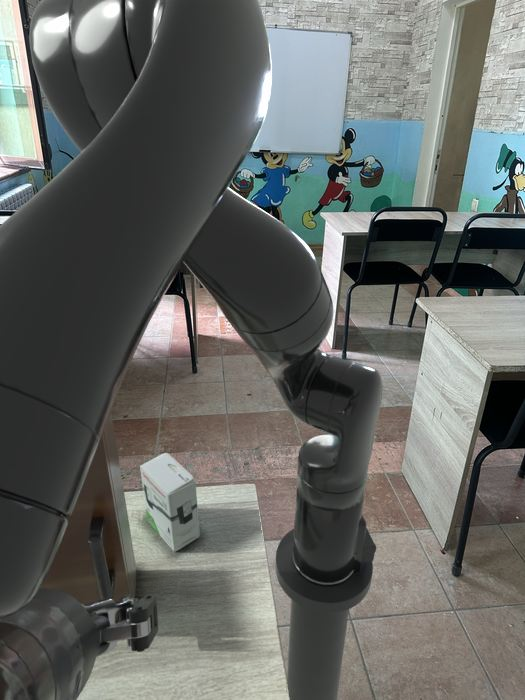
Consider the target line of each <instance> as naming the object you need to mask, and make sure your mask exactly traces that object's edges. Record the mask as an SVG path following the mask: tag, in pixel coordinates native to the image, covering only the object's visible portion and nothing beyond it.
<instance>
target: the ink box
mask: <svg viewBox="0 0 525 700" xmlns="http://www.w3.org/2000/svg"><path fill="white" fill-rule="evenodd" d="M139 468H140V476H141V484H142V490H143V491H142V492H143V500H144V507H145V514H146V515H145V516H146V521H147V523H148V524H149V525H150V526H151V527H152V529H153V530H154V531H155V532H156V533H157V534H158V535H159V536H160V537H161V539H162V540H163V541H164V542H165V543H166V544H167V545H168V547H169V548H170V549H171V550H172V551H173V552H174V553H176V552H178V551H179V550H181V549H182V548H184V547H187V545H189V544H190V543H192V542H194V541H195V540H197V539H198V538H200V524H199V523H200V522H199V510H198V495H197V482H196V479H195V478H194V475H192V474H191V473H190V472H189V471H188V470H187V469H186V468H184V467H183V466H182V465H181V464H180V463H179V462H178V461H177V460H176V458H174V457H173V456H171V455H170V454H169V453H168V452H164V453H161V454H160V455H158V456H156V457H154V458H152V459H150V460H149V461H146V462H144V463H141V464H140V465H139Z"/></svg>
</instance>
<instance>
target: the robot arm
mask: <svg viewBox="0 0 525 700" xmlns="http://www.w3.org/2000/svg"><path fill="white" fill-rule="evenodd" d="M29 24H30V25H29V35H28V41H29V48H30V56H31V62H32V66H33V69H34V72H35V75H36V79H37V82H38V84H39V87H40V90H41V91H42V94H43V96H44V98H45V101H46V102H47V104H48V106H49V108H50V110H51V112H52V113H53V115H54V117H55V118H56V120H57V121H58V123H59V124H60V126H61V128H62V129H63V131H64V133H65V134H66V135H67V137H68V138H69V139H70V141H71V142H72V144H73V145H74V146H75V147H76V149H77V150H78V151H79V152H80V153H79V154H78V155H77V156H75V158H73V159H72V160H71V161H70V162H69V163H67V165H66V166H65V167H63V169H62V170H61V171H59V172H58V174H56V175H55V177H54V178H52V179H51V180H50V181H49V182H47V184H45V186H43V187H42V188H41V189H40V190H38V191H37V192H36V193H35V194H34V195H32V196H31V197H30V199H28V200H27V201H26V202H25V203H24V204H23V205H21V207H19V208H18V209H16V211H15V212H14V213H12V215H10V216H9V217H8V218H7V219H6V220H5V221H3V223H1V224H0V700H78V698H79V696H80V695H81V693H82V692H83V690H84V689H85V686H86V685H87V684H88V681H89V679H90V677H91V674H92V671H93V669H94V667H95V663H96V659H97V658H98V657H100V656H103V655H105V654H107V653H109V652H112V651H114V650H115V648H117V643H118V642H121V641H126V644H127V648H131V651H132V652H137V653H140V652H144V651H145V650H146V649H149V648H150V646H151V645H152V643H153V641H154V639H155V638H156V635H157V633H158V631H159V621H158V620H159V619H158V600H157V595H152V594H146V595H144V597H141V598H137V597H135V599H134V598H132V597H131V594H127V595H123V596H122V597H121V598H120V599H119V600H118V601H117V602H115V601H114V600H113V599H107V600H97V601H94V602H91V603H88V604H84V605H81V603H80V602H79V601H77V600H76V599H75V598H74V597H72V596H71V595H69V594H67V593H65V592H62V591H59V590H55V589H49V588H41V586H42V584H43V582H44V580H45V578H46V576H47V574H48V572H49V570H50V568H51V566H52V563H53V561H54V558H55V556H56V553H57V551H58V549H59V546H60V543H61V541H62V538H63V535H64V533H65V530H66V528H67V525H68V521H67V519H66V518H68V517H70V516H71V515H72V512H73V509H74V507H75V504H76V501H77V499H78V496H79V494H80V491H81V488H82V486H83V483H84V481H85V478H86V475H87V473H88V470H89V467H90V465H91V462H92V460H93V457H94V454H95V452H96V449H97V447H98V443H99V441H100V438H101V435H102V433H103V430H104V428H105V425H106V422H107V420H108V417H109V414H110V412H111V413H112V409H113V406H114V403H115V401H116V399H117V398H116V397H117V396H118V393H119V391H120V389H121V386H122V384H123V381H124V379H125V377H126V375H127V372H128V369H129V367H130V365H131V363H132V361H133V358H134V356H135V354H136V351H137V349H138V347H139V345H140V343H141V341H142V339H143V336H144V335H145V332H146V330H147V328H148V326H149V324H150V322H151V320H152V318H153V316H154V315H155V312H156V311H157V309H158V307H159V305H160V304H161V301H162V299H163V298H164V296H165V294H166V293H167V291H168V289H169V288H170V286H171V284H172V282H173V281H174V279H175V278H176V276H177V274H178V272H179V271H180V269H181V267H182V265H183V264H184V265H185V266H186V267H187V269H188V270H189V271H190V272H191V273H192V274H193V276H194V277H195V278H196V280H197V281H198V282H199V283H200V284H201V286H202V287H203V288H204V289H205V291H206V292H207V293H208V294H209V296H210V297H211V298H212V300H213V301H214V302H215V304H216V305H217V306H218V308H219V310H220V311H221V313H222V314H223V316H224V317H225V319H226V320H227V321H228V323H229V324H230V325H231V327H232V328H233V330H234V331H235V332H236V333H237V334H238V335H239V337H240V338H241V340H242V342H244V343H245V344H246V346H248V348H249V349H250V350H251V351H252V352H253V354H254V355H255V356H256V358H257V359H258V361H259V363H260V364H261V365H262V367H263V368H264V369H265V370H266V372H267V373H268V374H269V376H270V377H271V379H272V381H273V382H274V384H275V386H276V388H277V390H278V392H279V394H280V397H281V398H282V401H283V403H284V404H285V406H286V408H287V410H288V412H289V413H290V414H291V415H292V417H294V419H296V420H298V421H299V422H300V423H302V424H304V425H306V426H309V427H312V428H315V429H317V430H319V431H322V432H325V433H321V434H316V435H314V436H312V437H310V438H308V439H307V440H305V441H304V442H303V444H301V446H300V448H299V451H298V455H297V471H296V491H295V493H296V494H295V510H294V511H295V512H294V520H293V522H294V523H293V529H294V528H295V529H294V544H293V545H294V546H293V556H292V559H293V564H294V567H295V569H296V570H297V572H298V573H299V574H300V575H301V576H302V577H303V578H304V579H305V580H307V581H309V582H311V583H313V584H315V585H319V586H326V587H330V586H337V585H340V584H342V583H344V582H346V581H347V580H348V579H349V578H350V577H351V576H352V575H353V573H355V572H360V567H361V563H364V562H370V561H372V562H374V560H375V553H376V552H377V544H376V543H375V542H374V540H373V537H372V535H371V534H370V532H369V530H368V528H367V521H366V519H365V517H364V516H363V508H364V501H365V492H366V486H367V478H368V473H369V472H368V471H369V466H370V461H371V456H372V451H373V448H374V440H375V435H376V429H377V424H378V420H379V414H380V409H381V407H382V406H381V404H382V399H383V392H384V391H383V390H384V386H383V382H384V381H383V378H382V375H381V373H380V372H379V370H377V369H376V368H374V367H371V366H368V365H365V364H362V363H358V362H355V361H351V360H348V359H345V358H341V357H338V356H334V355H331V354H328V353H326V352H323V351H322V350H320V349H319V348H320V347H321V346H322V344H323V343H324V341H325V339H326V338H327V336H328V334H329V332H330V330H331V326H332V324H333V319H334V302H333V298H332V295H331V292H330V289H329V287H328V284H327V282H326V279H325V277H324V274H323V271H322V269H321V266H320V264H319V262H318V260H317V258H316V256H315V254H314V252H313V251H312V249H311V248H310V246H309V245H308V244H307V243H306V242H305V241H304V240H303V238H302V237H300V236H299V235H298V234H297V233H296V232H295V231H293V230H292V229H291V228H290V227H288V226H287V225H286V224H284V223H283V222H281V221H280V220H278V219H277V218H276V217H275V216H273V215H271V214H270V213H268V212H266V211H265V210H263V209H262V208H260V207H259V206H257V205H256V204H254V203H252V202H251V201H249V200H248V199H246V198H244V197H243V196H241V195H240V194H239V193H237V192H236V191H235V190H233V189H231V188H230V187H229V186H230V185H231V182H232V181H233V180H234V178H235V176H236V175H237V173H238V172H239V170H240V168H241V166H243V165H242V164H243V163H244V161H245V160H246V158H247V156H248V155H249V153H250V151H251V149H252V148H253V146H254V144H255V143H256V141H257V138H258V136H259V134H260V132H261V130H262V127H263V125H264V122H265V119H266V116H267V112H268V109H269V105H270V99H271V92H272V91H271V90H272V81H273V76H272V75H273V73H272V72H273V70H272V69H273V66H272V65H273V63H272V62H273V61H272V54H271V45H270V41H269V36H268V35H269V34H268V30H267V25H266V22H265V18H264V13H263V12H262V8H261V5H260V3H259V0H40V1H39V2H38V3H37V5H36V7H35V9H34V11H33V13H32V14H31V18H30V23H29ZM117 611H118V621H115V615H116V612H117ZM93 612H96V615H89V614H90V613H93Z"/></svg>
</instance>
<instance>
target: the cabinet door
mask: <svg viewBox="0 0 525 700" xmlns="http://www.w3.org/2000/svg"><path fill="white" fill-rule="evenodd" d="M66 519H67V521H68V525H67V528H66V530H65V533H64V535H63V538H62V541H61V543H60V546H59V549H58V551H57V553H56V556H55V558H54V561H53V563H52V566H51V568H50V570H49V572H48V574H47V576H46V578H45V580H44V582H43V584H42V586H41V588H49V589H55V590H59V591H62V592H65V593H67V594H69V595H71V596H72V597H74V598H75V599H76V600H77V601H79V602H80V603H81V605H84V604H88V603H91V602H94V601H97V600H107V599H113V600H114V601H115V602H117V601H118V600H119V599H120V598H121V597H122V596H123V595H127V594H131V590H130V584H129V578H128V572H127V566H126V561H125V555H124V549H123V543H122V537H121V532H120V526H119V520H118V514H117V508H116V503H115V497H114V491H113V485H112V479H111V473H110V468H109V462H108V456H107V450H106V444H105V439H104V433H102V435H101V438H100V441H99V443H98V447H97V449H96V452H95V454H94V457H93V460H92V462H91V465H90V467H89V470H88V473H87V475H86V478H85V481H84V483H83V486H82V488H81V491H80V494H79V496H78V499H77V501H76V504H75V507H74V509H73V512H72V515H71V516H70V517H68V518H66ZM131 597H132V595H131ZM89 615H96V612H93V613H90V614H89ZM115 621H116V622H118V611H117V612H116V615H115Z"/></svg>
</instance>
